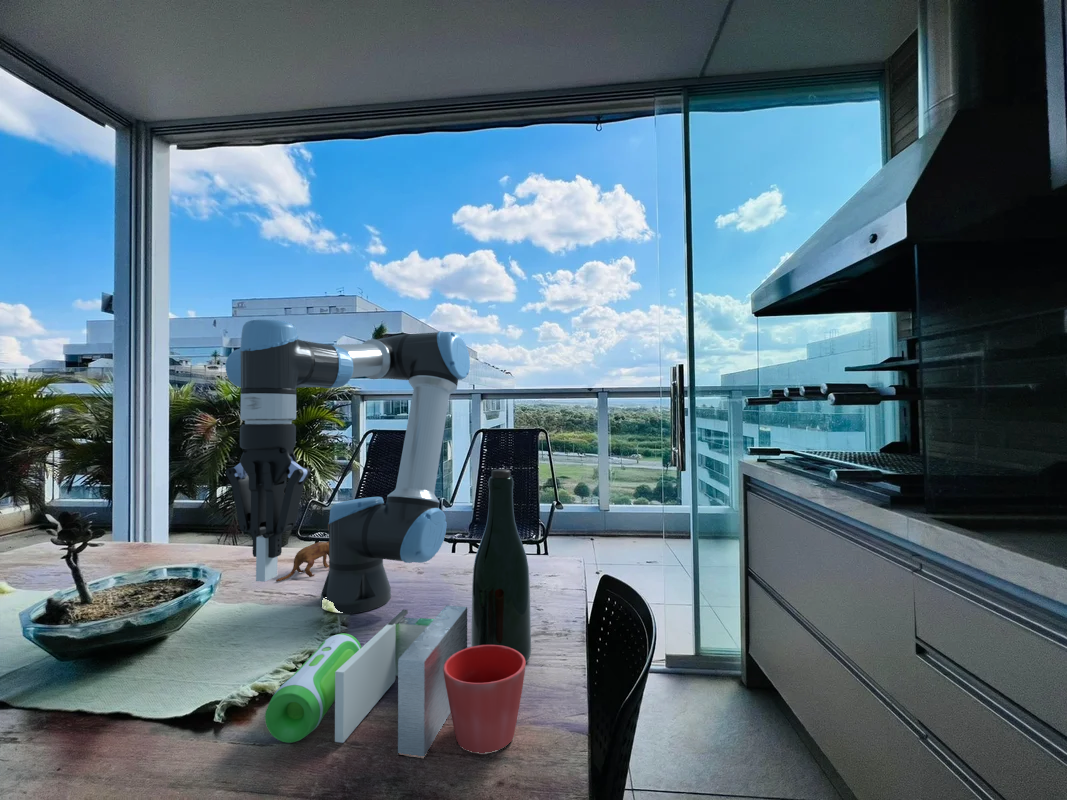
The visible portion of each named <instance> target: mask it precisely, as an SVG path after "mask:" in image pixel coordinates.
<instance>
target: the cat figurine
mask: <svg viewBox="0 0 1067 800" xmlns="http://www.w3.org/2000/svg"><path fill="white" fill-rule="evenodd" d="M327 530H328V532H329V523H328V524H327ZM327 556H328V557H329V540H328V541H317V542H315V543H313V544H310V545H308V546H306V547H303V548H302V549H300V550H299V551H298V552H296V554H295V556H294V559H293V566H292V569H291V571H290V572H289V573H287V575H285V576H282V577H280V578H277V579H276V580H275V582H281V581H284V580H287V579H289V578H291V577H292V576H293V575H294V574H295V573H296V571H297V572H298V573H299V572H303V573H304V572H305V574H306V575H307V576H308V577H309V578H311V577H315V575H316V574H315V573H314V574H313V573H312V571H311V568H312V567H313V566H314V565H315V561H316V560H318V559H320V558H322V563H323V564H322V565H323V566H324V567H325V568H329V563H328V562H327ZM303 563H306V564H307V565H306V567H305V568H304V570H301V565H302V564H303Z"/></svg>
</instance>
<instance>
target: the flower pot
mask: <svg viewBox="0 0 1067 800" xmlns="http://www.w3.org/2000/svg"><path fill="white" fill-rule="evenodd" d="M526 665H527V662H526V661H525V658H524V656H523V655H522V654H521V653H520V652H518V651H516V650H514V649H512V648H509V647H506V646H500V645H480V646H474V647H471V646H470V647H467V648H466V649H463V650H461V651H459V652H457V653H455V654H453V655H452V656H451V657H450V658H449V659H448V660H447V661H446V662H445V664H444V668H443V672H444V678H445V684H446V689H447V695H448V700H449V706H450V711H451V712H450V717H451V719H452V720H451V721H452V725H453V730H454V735H455V740H456V742H458V743H457V744H458V746H459V745H460V746H461V747H463V748H464V749H466V750H469V751H472V752H479V753H485V752H492V751H495V750H499V749H501V748H503V747H505V746H506V745H508V744H509V743H510V742H511V743H512V741H513V740H514V737H515V733H516V727H517V722H518V718H519V712H520V706H521V701H522V700H521V699H522V693H523V685H524V681H525V680H524V679H525V673H526ZM512 739H513V740H512ZM511 743H510V744H511ZM510 744H509V745H510ZM509 745H508V746H509ZM460 746H459V747H460ZM461 747H460V748H461ZM505 748H506V747H505ZM464 749H463V750H464Z"/></svg>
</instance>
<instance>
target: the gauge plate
mask: <svg viewBox="0 0 1067 800" xmlns="http://www.w3.org/2000/svg"><path fill="white" fill-rule="evenodd" d="M408 613H409V611H408V609H402V610H401V611H400V612H399V613H398V614H397V615H396V616H394V617H393V618H392V619H391V620H390V621H389V622H388V623H387V624H385V626H384V627H383V628H381V629H380V630H379V631H377V633H376V634H375V635H374V636H372V637H371V639H369V640H368V641H367V642H366V643H365V644H364V645H363V646H361V647H362V648H361V649H360V650H358V651H357V652H356V653H355V654H354V655H353V656H352V657H351V658H350V659H349V660H347V661H346V662H345V663H344V664H343V665H342V666H341V667H340V668H339V669H338V670H337V671H335V701H334V742H335V743H341V744H343V743H345V742H346V740H347V739H348V738H349V737H350V735H351V734H352V733H353V732H354V731H355V730H356V728H357V727H358V726H359V724H361V722H362V721H363V720H364V719H365V718H366V716H367V715H368V714H369V712H371V711H372V709H373V708H374V707H375V706H376V705H377V703H378V702H379V700H381V698H382V697H383V696H384V695H385V693H386V692H387V691H388V690H389V689H390V687H392V685H393V684H394V683H395V681H396V676H395V641H396V624H397V623H398V622H399V621H400V620H401V619H402V618H403V617H406V616H407V615H408Z"/></svg>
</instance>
